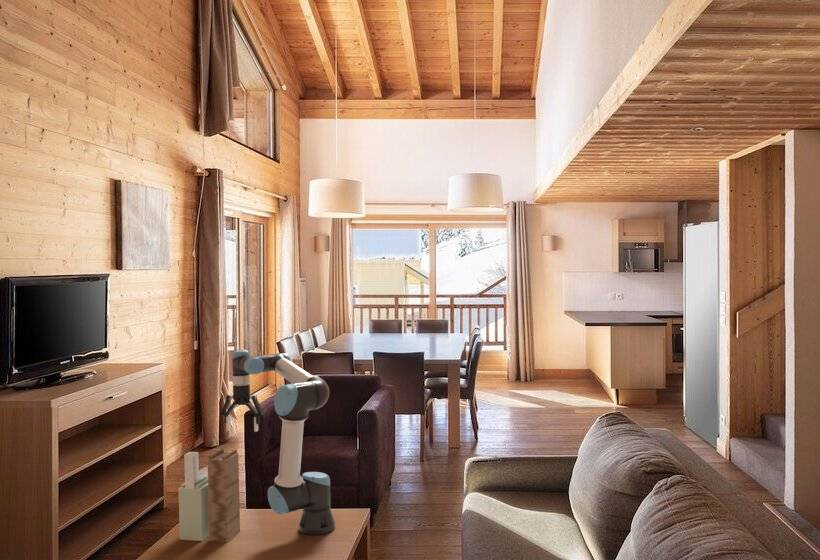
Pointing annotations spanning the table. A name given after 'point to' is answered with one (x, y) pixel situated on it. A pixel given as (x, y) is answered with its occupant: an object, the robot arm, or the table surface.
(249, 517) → the table surface
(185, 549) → the table surface
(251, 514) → the table surface
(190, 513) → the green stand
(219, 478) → the walnut stand
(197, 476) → the stepped metal block
